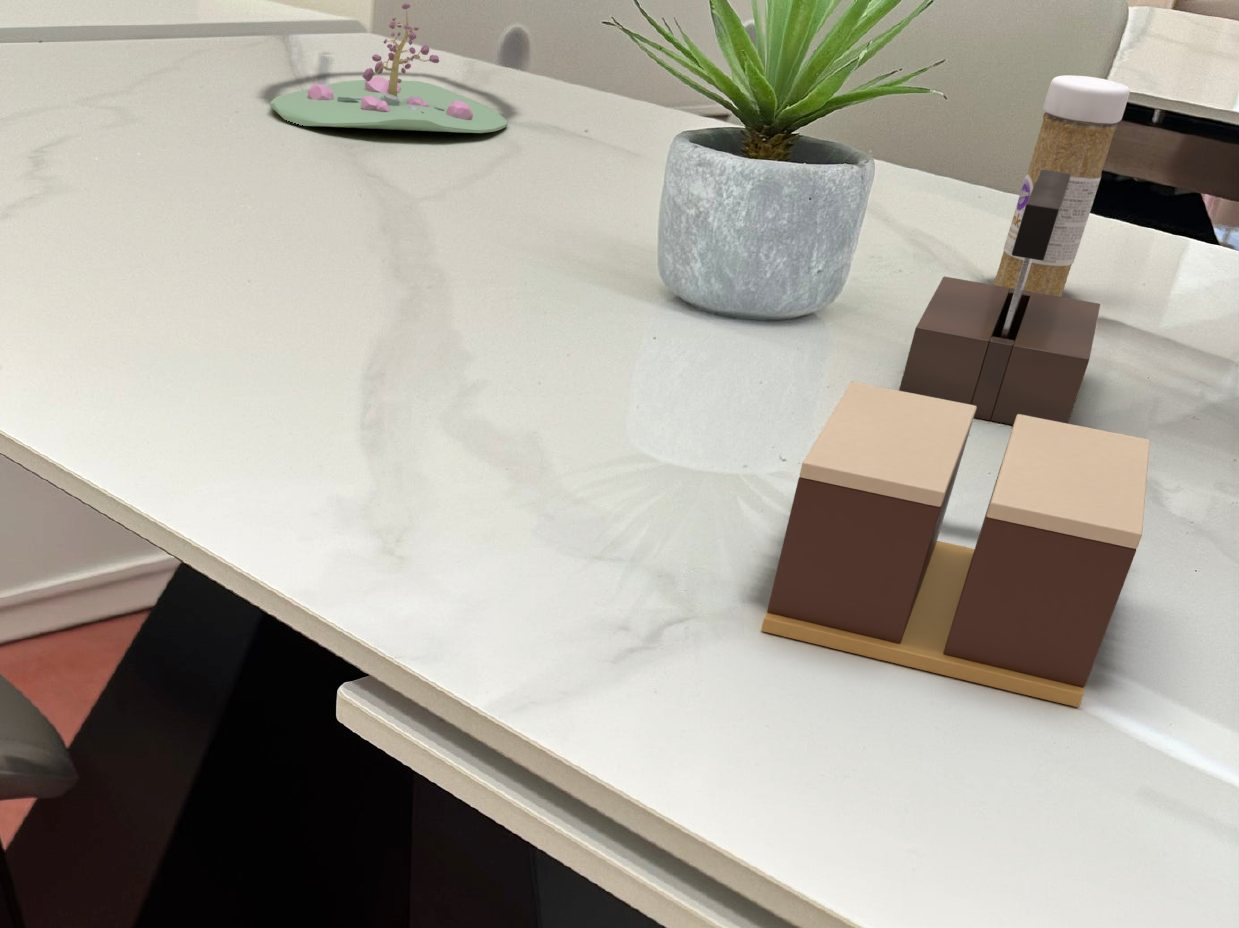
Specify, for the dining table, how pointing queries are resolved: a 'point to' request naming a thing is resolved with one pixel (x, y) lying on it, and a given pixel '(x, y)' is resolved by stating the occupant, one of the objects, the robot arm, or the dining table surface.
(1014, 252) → the slim kitchen knife
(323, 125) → the plant
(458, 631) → the dining table surface
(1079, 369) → the knife block
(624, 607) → the dining table surface
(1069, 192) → the sprinkles bottle
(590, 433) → the dining table surface
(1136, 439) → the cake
